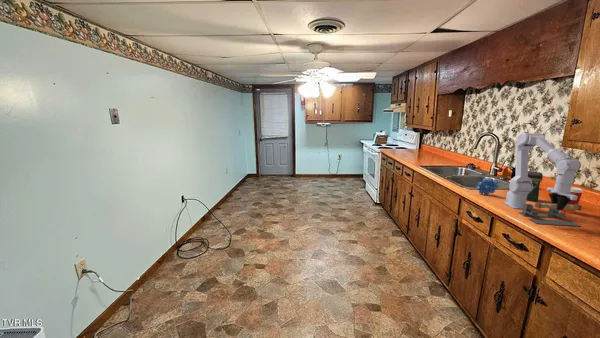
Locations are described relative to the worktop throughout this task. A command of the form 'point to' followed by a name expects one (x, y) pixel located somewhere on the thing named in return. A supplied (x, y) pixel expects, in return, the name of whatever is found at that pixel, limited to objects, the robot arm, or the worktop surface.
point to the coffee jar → (534, 185)
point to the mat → (554, 222)
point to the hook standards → (551, 214)
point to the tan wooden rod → (554, 206)
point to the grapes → (487, 186)
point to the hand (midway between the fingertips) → (557, 208)
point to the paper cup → (578, 193)
